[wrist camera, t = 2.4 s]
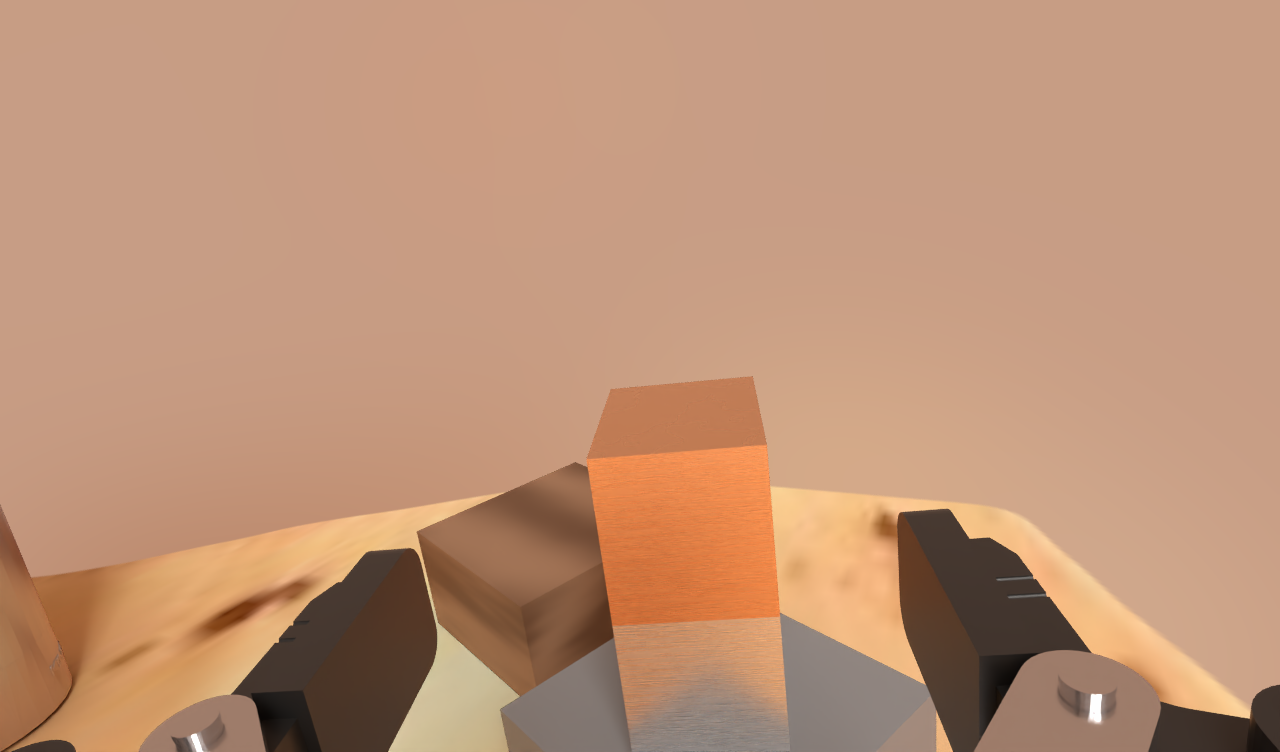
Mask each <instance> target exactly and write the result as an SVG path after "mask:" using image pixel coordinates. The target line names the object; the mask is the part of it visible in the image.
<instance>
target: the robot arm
mask: <svg viewBox="0 0 1280 752" xmlns="http://www.w3.org/2000/svg"><path fill="white" fill-rule="evenodd" d="M897 528H898V559H899V589H900V606H901V613H902V619H903V624H904V629H905V632H906V636H907V639H908V642H909V644H910V647H911V649H912V651H913V654H914V656H915V659H916V661H917V664H918V666H919V669H920V671H921V674H922V676H923V678H924V681H925V683H926V686H927V688H928V691H929V693H930V696H931V698H932V701H933V703H934V705H935V708H936V710H937V713H938V715H939V718H940V720H941V723H942V725H943V728H944V730H945V732H946V735H947V737H948V740H949V742H950V745H951V747H952V750H953V752H1280V685H1276V686H1271V687H1269V688H1266V689H1264V690H1262V691H1261V692H1259V693H1258V694H1257V695H1256V696H1255V698H1254V699H1253V702H1252V706H1251V714H1250V719H1247V718H1241V717H1235V716H1229V715H1223V714H1217V713H1211V712H1205V711H1199V710H1193V709H1187V708H1183V707H1178V706H1174V705H1170V704H1167V703H1163V702H1160V700H1159V697H1158V695H1157V693H1156V691H1155V690H1154V689H1153V687H1152V686H1151V685H1150V684H1149V683H1148V682H1147V681H1146V680H1145V679H1144V678H1143V677H1142V676H1140V675H1139V674H1138V673H1136V672H1135V671H1134V670H1132V669H1130V668H1128V667H1127V666H1125V665H1123V664H1121V663H1119V662H1117V661H1114V660H1112V659H1109V658H1106V657H1103V656H1100V655H1096V654H1093V653H1091V651H1090V650H1089V649H1088V648H1087V646H1086V645H1085V644H1084V642H1083V641H1082V640H1081V638H1080V637H1079V636H1078V634H1077V633H1076V632H1075V630H1074V629H1073V628H1072V626H1071V625H1070V624H1069V622H1068V621H1067V620H1066V618H1065V617H1064V616H1063V614H1062V613H1061V612H1060V610H1059V609H1058V608H1057V606H1056V605H1055V604H1054V602H1053V601H1052V600H1051V599H1050V597H1047V596H1046V592H1045V591H1044V589H1043V588H1042V587H1041V585H1040V584H1039V583H1038V581H1037V580H1036V579H1033V575H1032V573H1031V572H1030V571H1029V569H1028V568H1027V567H1026V565H1025V564H1024V563H1023V561H1022V560H1021V559H1020V557H1019V556H1018V555H1017V554H1016V553H1014V552H1012V551H1011V550H1009V549H1008V548H1006V547H1004V546H1003V545H1001V544H999V543H998V542H996V541H994V540H993V539H991V538H977V539H969V537H968V536H967V534H966V533H965V531H964V530H963V528H962V527H961V525H960V524H959V522H958V521H957V519H956V518H955V516H954V515H953V513H952V512H951V511H950V510H949V509H938V510H925V511H912V512H900V513H899V516H898V524H897ZM293 622H294V624H293V626H289V627H288V629H287V630H286V631H285V632H284V633H283V634H282V636H281V637H280V638H279V643H275V644H274V645H273V646H272V647H271V648H270V650H269V651H268V652H267V653H266V654H265V655H264V657H263V658H262V659H261V660H260V661H259V663H258V664H257V665H256V666H255V667H254V668H253V670H252V671H251V672H250V673H249V674H248V675H247V677H246V678H245V679H244V680H243V681H242V682H241V684H240V685H239V686H238V687H237V688H236V689H235V691H234V692H233V693H232V694H231V695H223V696H218V697H214V698H210V699H207V700H204V701H201V702H198V703H196V704H194V705H192V706H189V707H187V708H185V709H183V710H182V711H180V712H178V713H176V714H175V715H173V716H172V717H170V718H169V719H167V720H166V721H164V722H163V723H162V724H161V725H159V726H158V727H157V728H156V729H155V730H154V731H153V732H152V733H151V734H150V735H149V736H148V737H147V738H146V739H145V741H144V742H143V744H142V745H141V747H140V749H139V752H388V750H389V748H390V746H391V745H392V743H393V741H394V739H395V737H396V735H397V733H398V731H399V729H400V727H401V725H402V723H403V721H404V719H405V717H406V716H407V714H408V712H409V710H410V708H411V706H412V704H413V702H414V700H415V698H416V696H417V694H418V692H419V690H420V688H421V687H422V685H423V683H424V681H425V679H426V677H427V675H428V673H429V671H430V669H431V667H432V665H433V662H434V659H435V655H436V649H437V629H436V624H435V620H434V615H433V611H432V607H431V603H430V599H429V595H428V590H427V586H426V582H425V578H424V574H423V570H422V565H421V562H420V558H419V556H418V554H417V552H416V551H415V550H414V549H411V548H407V549H394V550H380V551H369V552H367V553H366V554H365V555H364V556H363V557H362V558H361V559H360V560H359V562H358V563H357V564H356V565H355V566H354V568H353V569H352V570H351V571H350V573H349V574H348V575H347V576H346V577H345V579H344V580H343V581H342V582H338V583H336V584H335V585H333V586H332V587H330V588H329V589H328V590H326V591H325V592H323V593H322V594H320V595H319V596H317V597H316V598H315V599H313V600H312V601H311V602H310V603H309V604H308V605H307V606H306V607H305V609H304V610H303V611H302V612H301V613H300V614H299V616H298V617H297V618H296V619H295V620H294V621H293ZM71 685H72V676H71V673H70V671H69V668H68V666H67V663H66V661H65V658H64V656H63V651H62V648H61V646H60V644H59V642H58V641H57V639H56V637H55V634H54V632H53V630H52V627H51V625H50V623H49V620H48V618H47V615H46V613H45V610H44V608H43V605H42V603H41V601H40V598H39V596H38V593H37V591H36V589H35V586H34V584H33V582H32V579H31V577H30V574H29V572H28V570H27V567H26V565H25V563H24V560H23V558H22V555H21V553H20V550H19V548H18V546H17V544H16V541H15V539H14V536H13V534H12V532H11V529H10V527H9V524H8V522H7V520H6V517H5V515H4V512H3V510H2V508H1V505H0V752H1V751H2V750H4V749H5V748H7V747H9V746H10V745H12V744H13V743H15V742H16V741H18V740H19V739H21V738H22V737H24V736H25V735H27V734H28V733H29V732H31V731H32V730H33V729H34V728H36V727H37V726H38V725H40V724H41V723H42V722H43V721H44V720H45V719H46V718H47V717H49V716H50V715H51V714H52V713H53V712H54V711H55V710H56V709H57V708H58V706H59V705H60V704H61V703H62V701H63V700H64V699H65V698H66V696H67V694H68V692H69V690H70V688H71ZM12 752H76V750H75V748H74V746H73V745H72V744H71V743H69V742H67V741H62V740H49V741H43V742H39V743H35V744H31V745H28V746H25V747H22V748H19V749H17V750H15V751H12Z"/></svg>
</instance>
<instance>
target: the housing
mask: <svg viewBox="0 0 1280 752" xmlns="http://www.w3.org/2000/svg"><path fill="white" fill-rule="evenodd" d="M587 466H588V472H589V479H590V485H591V492H592V498H593V504H594V511H595V517H596V524H597V530H598V537H599V543H600V549H601V556H602V562H603V569H604V575H605V582H606V588H607V594H608V601H609V607H610V614H611V620H612V627H613V633H614V639H615V646H616V652H617V659H618V665H619V672H620V678H621V684H622V691H623V697H624V704H625V710H626V717H627V723H628V729H629V736H630V742H631V749H632V752H790V740H789V727H788V714H787V701H786V688H785V675H784V662H783V649H782V636H781V623H780V610H779V597H778V584H777V571H776V558H775V545H774V532H773V519H772V506H771V493H770V480H769V468H768V454H767V443H766V439H765V434H764V429H763V424H762V419H761V414H760V410H759V405H758V400H757V395H756V390H755V385H754V381H753V377H740V378H730V379H719V380H708V381H696V382H685V383H675V384H664V385H652V386H641V387H630V388H620V389H611V390H610V393H609V396H608V399H607V402H606V405H605V408H604V410H603V413H602V416H601V419H600V422H599V425H598V428H597V431H596V433H595V436H594V439H593V442H592V445H591V448H590V451H589V454H588V457H587Z"/></svg>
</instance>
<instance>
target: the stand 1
mask: <svg viewBox="0 0 1280 752" xmlns="http://www.w3.org/2000/svg"><path fill="white" fill-rule="evenodd" d="M417 534H418V538H419V543H420V547H421V551H422V555H423V560H424V564H425V568H426V572H427V577H428V581H429V585H430V589H431V593H432V598H433V602H434V606H435V610H436V615H437V619H438V623H439V624H441V625H442V626H443V627H444V628H445V629H446V630H447V631H448V632H449V633H451V634H452V635H453V636H454V637H455V638H456V639H457V640H458V641H459V642H461V643H462V644H463V645H464V646H465V647H466V648H467V649H468V650H470V651H471V652H472V653H473V654H474V655H475V656H476V657H477V658H478V659H480V660H481V661H482V662H483V663H484V664H485V665H486V666H487V667H489V668H490V669H491V670H492V671H493V672H494V673H495V674H496V675H497V676H499V677H500V678H501V679H502V680H503V681H504V682H505V683H506V684H507V685H509V686H510V687H511V688H512V689H513V690H514V691H515V692H516V693H518V694H519V695H520V696H522V695H524V694H525V693H527V692H529V691H530V690H532V689H533V688H535V687H536V686H538V685H540V684H541V683H543V682H544V681H546V680H548V679H549V678H551V677H552V676H554V675H555V674H557V673H559V672H560V671H562V670H563V669H565V668H567V667H568V666H570V665H571V664H573V663H574V662H576V661H578V660H579V659H581V658H582V657H584V656H586V655H587V654H589V653H590V652H592V651H593V650H595V649H597V648H598V647H600V646H601V645H603V644H605V643H606V642H608V641H609V640H611V639H613V638H614V633H613V627H612V620H611V614H610V607H609V601H608V594H607V588H606V582H605V575H604V569H603V562H602V556H601V549H600V543H599V537H598V530H597V524H596V517H595V511H594V504H593V498H592V492H591V485H590V479H589V472H588V467H585V466H583V465H581V464H578V463H576V462H575V463H573V464H571V465H569V466H566V467H563V468H561V469H559V470H557V471H554V472H552V473H550V474H547V475H545V476H543V477H541V478H538V479H536V480H534V481H531V482H529V483H527V484H525V485H523V486H520V487H518V488H515V489H513V490H511V491H508V492H506V493H504V494H502V495H499V496H497V497H495V498H492V499H490V500H488V501H486V502H483V503H481V504H479V505H476V506H474V507H472V508H470V509H467V510H465V511H463V512H460V513H458V514H456V515H454V516H451V517H449V518H447V519H444V520H442V521H440V522H437V523H435V524H433V525H431V526H428V527H426V528H424V529H421V530H419V531H417Z"/></svg>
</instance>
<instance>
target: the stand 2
mask: <svg viewBox="0 0 1280 752" xmlns="http://www.w3.org/2000/svg"><path fill="white" fill-rule="evenodd" d="M780 623H781V636H782V649H783V662H784V675H785V688H786V701H787V714H788V727H789V740H790V752H936V708H935V705H934V703H933V701H932V698H931V696H930V693H929V691H928V688H927V686H926V685H924V684H922V683H920V682H918V681H916V680H914V679H912V678H910V677H908V676H906V675H904V674H902V673H900V672H898V671H896V670H894V669H892V668H890V667H888V666H886V665H884V664H882V663H880V662H878V661H876V660H874V659H872V658H870V657H868V656H866V655H864V654H862V653H860V652H858V651H856V650H854V649H852V648H850V647H848V646H846V645H844V644H842V643H840V642H838V641H836V640H834V639H832V638H830V637H828V636H826V635H824V634H822V633H820V632H818V631H816V630H814V629H811V628H809V627H807V626H805V625H803V624H801V623H799V622H797V621H795V620H793V619H791V618H789V617H787V616H785V615H783V614H781V613H780ZM500 712H501V716H502V721H503V725H504V730H505V735H506V739H507V744H508V749H509V752H632V749H631V742H630V736H629V729H628V723H627V717H626V710H625V704H624V697H623V691H622V684H621V678H620V672H619V665H618V659H617V652H616V646H615V639H614V638H613V639H611V640H609V641H608V642H606V643H605V644H603V645H601V646H600V647H598V648H597V649H595V650H593V651H592V652H590V653H589V654H587V655H586V656H584V657H582V658H581V659H579V660H578V661H576V662H574V663H573V664H571V665H570V666H568V667H567V668H565V669H563V670H562V671H560V672H559V673H557V674H555V675H554V676H552V677H551V678H549V679H548V680H546V681H544V682H543V683H541V684H540V685H538V686H536V687H535V688H533V689H532V690H530V691H529V692H527V693H525V694H524V695H522V696H521V697H519V698H517V699H516V700H514V701H513V702H511V703H510V704H508V705H506V706H505V707H503V708H502V709H500Z"/></svg>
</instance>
